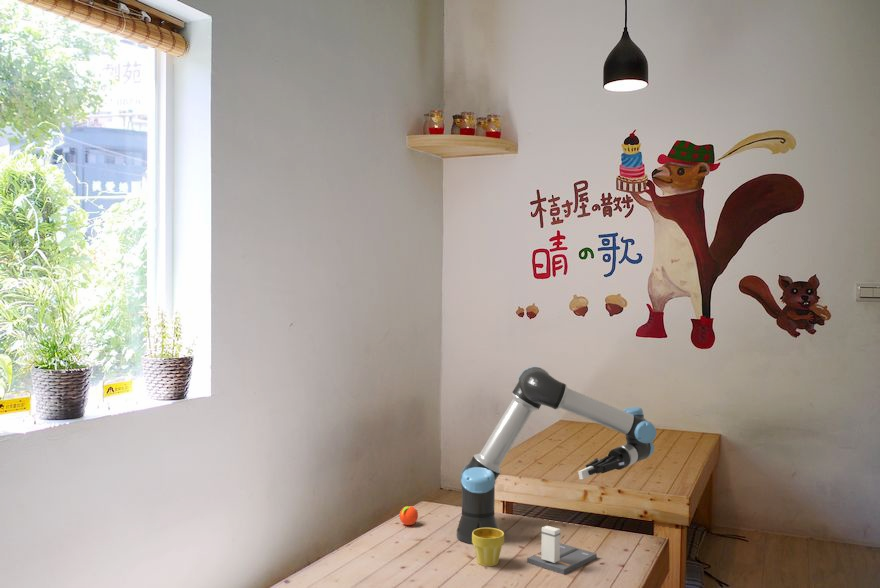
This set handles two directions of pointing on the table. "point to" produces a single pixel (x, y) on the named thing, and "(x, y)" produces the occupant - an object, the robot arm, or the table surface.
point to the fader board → (564, 559)
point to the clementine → (408, 515)
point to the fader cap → (550, 544)
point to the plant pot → (487, 545)
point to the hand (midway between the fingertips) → (580, 475)
